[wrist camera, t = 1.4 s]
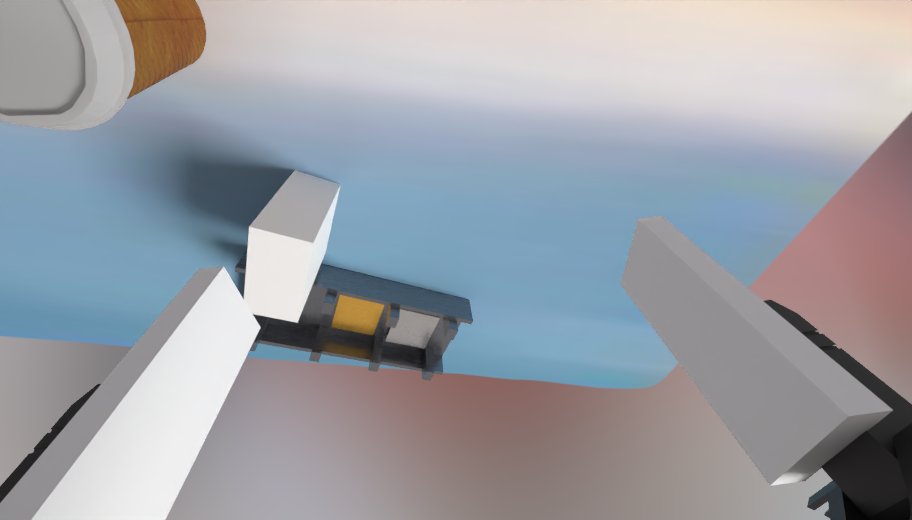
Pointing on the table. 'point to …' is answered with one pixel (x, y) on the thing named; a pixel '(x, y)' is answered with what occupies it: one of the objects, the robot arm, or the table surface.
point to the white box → (289, 246)
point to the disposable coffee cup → (89, 56)
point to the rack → (369, 321)
